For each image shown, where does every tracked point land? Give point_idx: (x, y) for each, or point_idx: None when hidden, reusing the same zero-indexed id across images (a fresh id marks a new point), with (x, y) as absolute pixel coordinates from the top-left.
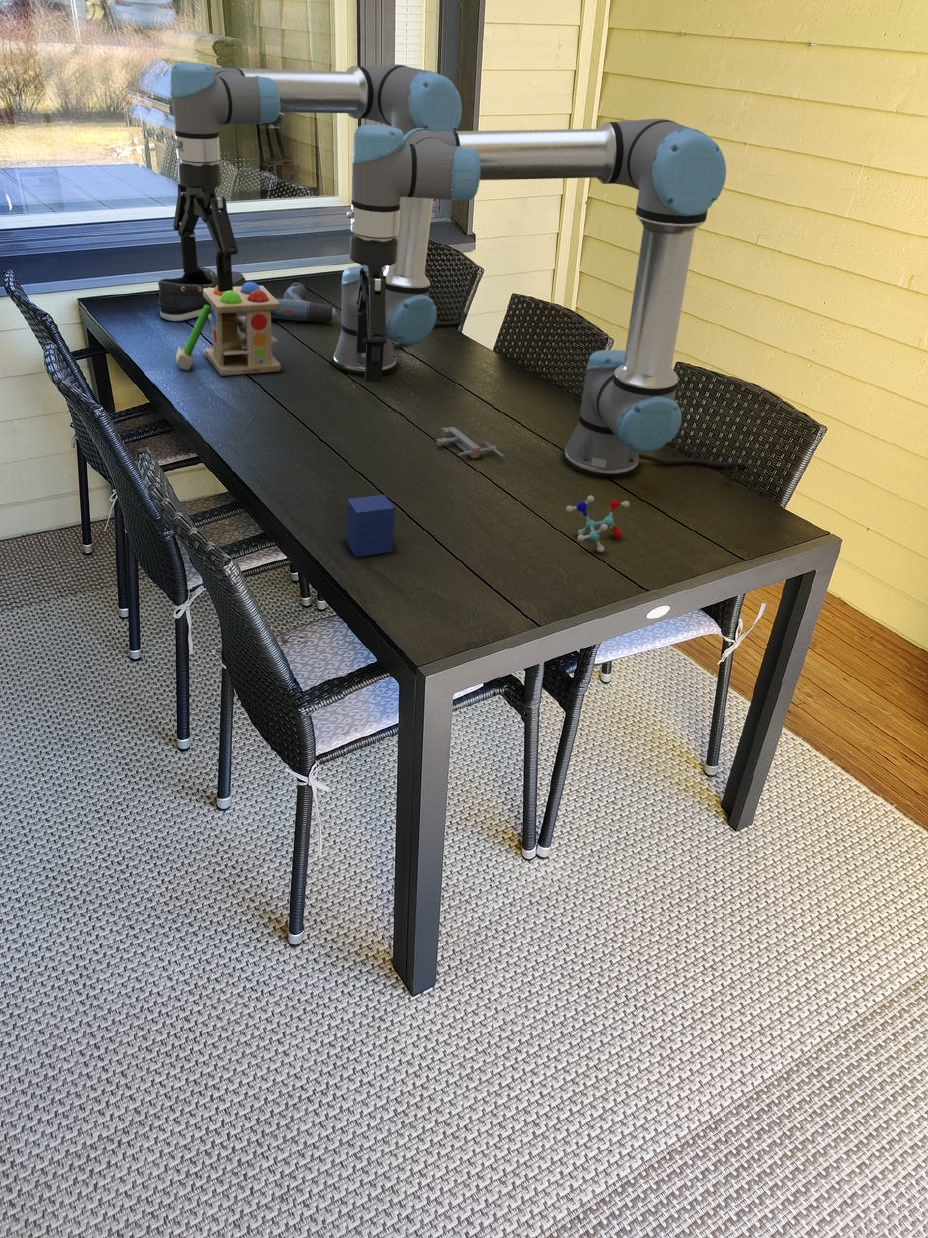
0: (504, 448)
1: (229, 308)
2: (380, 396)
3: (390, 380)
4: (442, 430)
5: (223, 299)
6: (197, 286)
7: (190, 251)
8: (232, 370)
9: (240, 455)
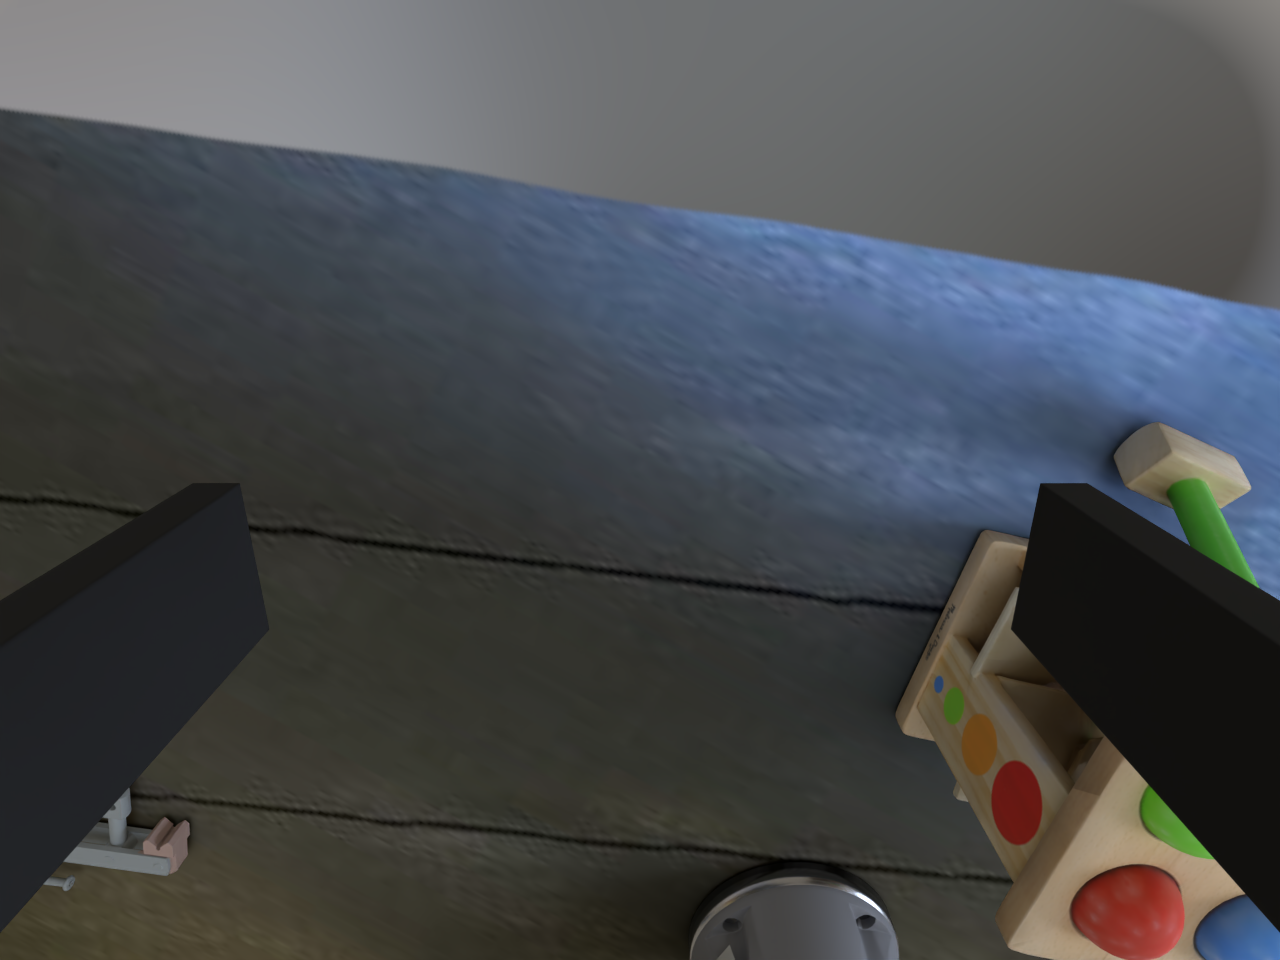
0: (72, 905)
1: None
2: (545, 847)
3: (640, 927)
4: (166, 840)
5: None
6: None
7: (1190, 717)
8: (970, 575)
9: (288, 219)
